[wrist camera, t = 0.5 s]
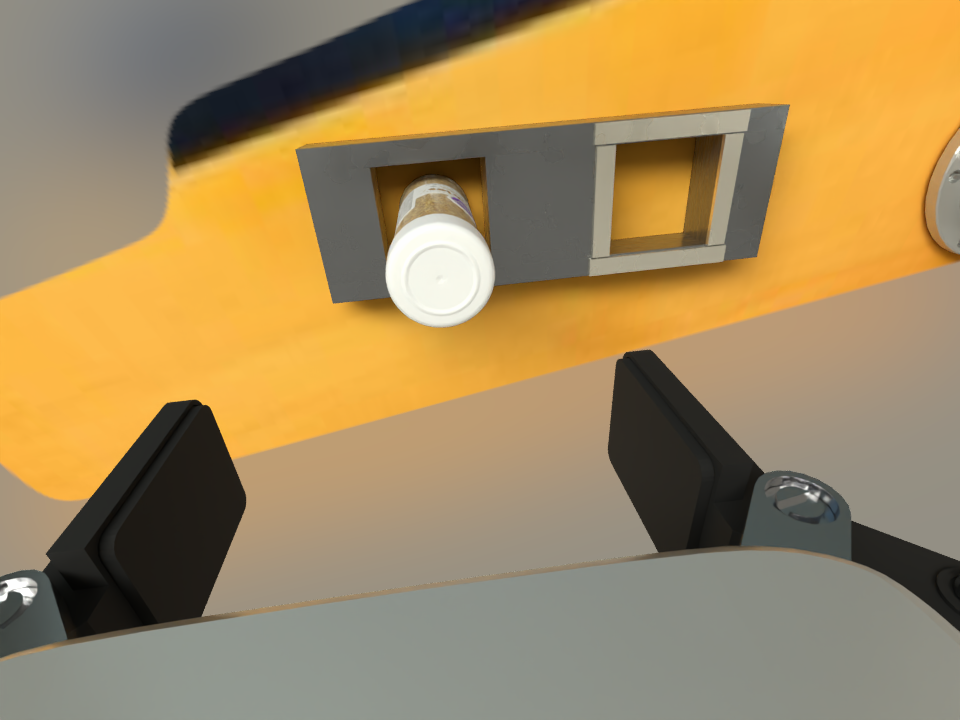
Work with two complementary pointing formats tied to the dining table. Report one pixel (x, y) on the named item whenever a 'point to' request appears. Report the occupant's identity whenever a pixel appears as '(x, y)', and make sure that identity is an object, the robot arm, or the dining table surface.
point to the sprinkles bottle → (438, 255)
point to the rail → (553, 194)
